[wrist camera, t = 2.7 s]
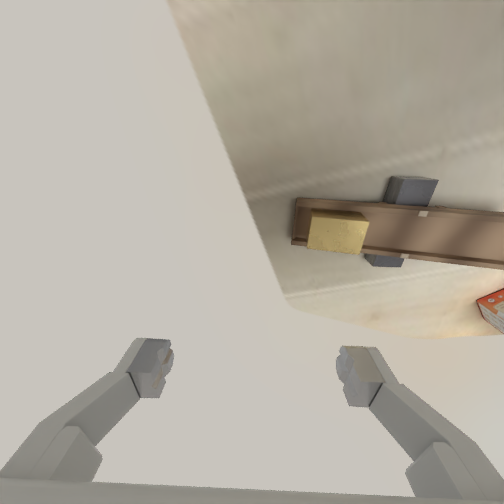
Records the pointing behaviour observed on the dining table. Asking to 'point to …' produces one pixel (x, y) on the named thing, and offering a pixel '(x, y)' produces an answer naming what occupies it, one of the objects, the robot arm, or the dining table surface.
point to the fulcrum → (404, 193)
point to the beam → (419, 231)
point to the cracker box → (493, 309)
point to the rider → (336, 230)
